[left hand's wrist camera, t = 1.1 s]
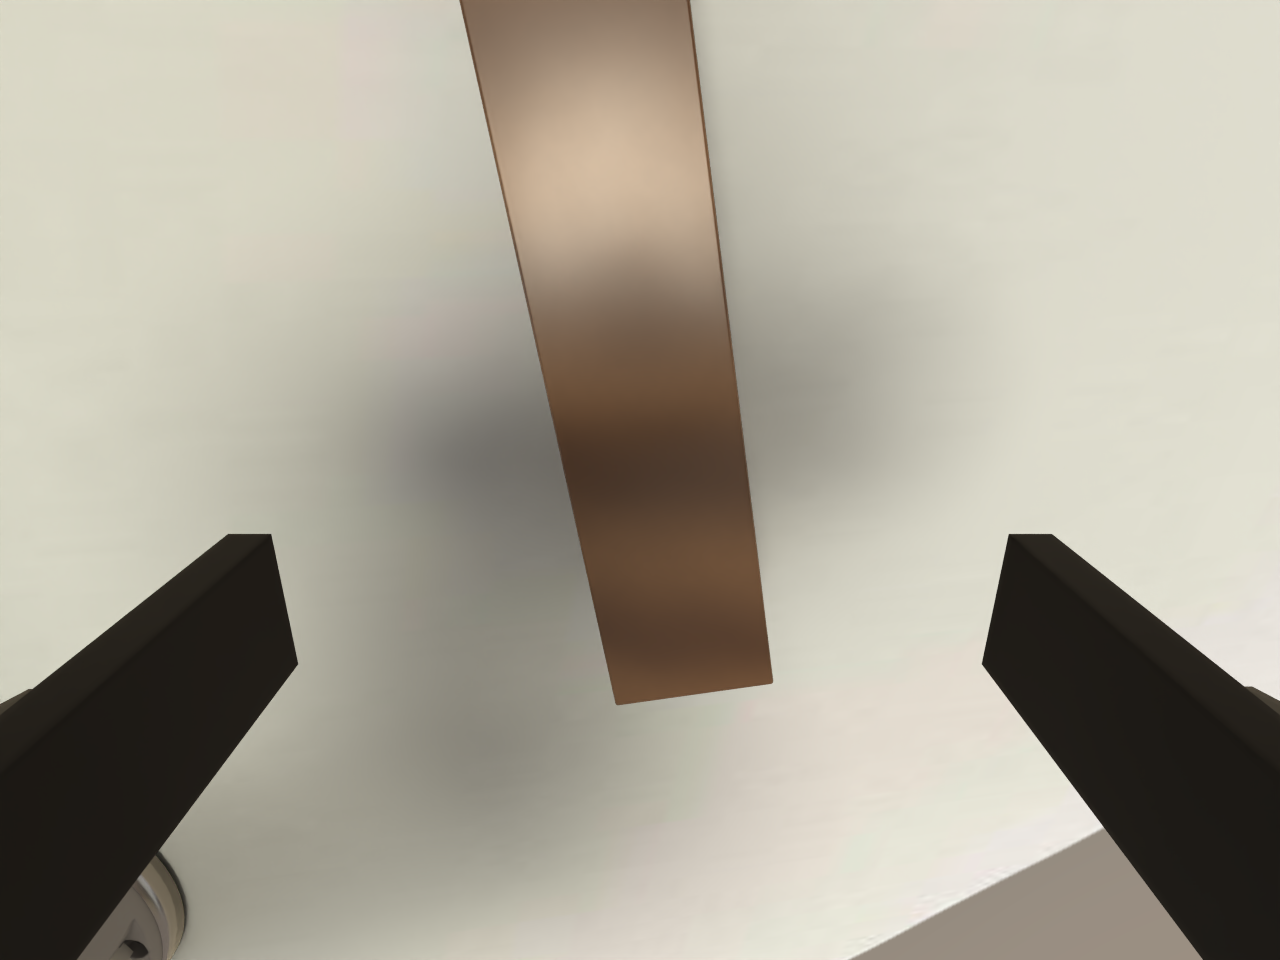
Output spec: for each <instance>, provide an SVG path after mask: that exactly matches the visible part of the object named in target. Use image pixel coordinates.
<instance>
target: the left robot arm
mask: <svg viewBox="0 0 1280 960" xmlns="http://www.w3.org/2000/svg"><path fill="white" fill-rule="evenodd" d="M297 665H298V661H297V656H296V651H295V647H294V642H293V637H292V632H291V627H290V622H289V618H288V613H287V608H286V603H285V598H284V594H283V589H282V584H281V579H280V574H279V570H278V565H277V560H276V555H275V550H274V546H273V541H272V536H271V534H228V535H226V536H225V537H224V538H223V539H221V540H220V541H219V542H217V543H216V544H215V545H214V546H212V547H211V548H210V549H209V550H207V551H206V552H205V553H204V554H202V555H201V556H200V557H199V558H197V559H196V560H195V561H194V562H192V563H191V564H190V565H188V566H187V567H186V568H185V569H183V570H182V571H181V572H180V573H178V574H177V575H176V576H175V577H173V578H172V579H171V580H170V581H168V582H167V583H166V584H165V585H163V586H162V587H161V588H159V589H158V590H157V591H156V592H154V593H153V594H152V595H151V596H149V597H148V598H147V599H146V600H144V601H143V602H142V603H141V604H139V605H138V606H137V607H136V608H134V609H133V610H132V611H130V612H129V613H128V614H127V615H125V616H124V617H123V618H122V619H120V620H119V621H118V622H117V623H115V624H114V625H113V626H112V627H110V628H109V629H108V630H107V631H105V632H104V633H103V634H101V635H100V636H99V637H98V638H96V639H95V640H94V641H93V642H91V643H90V644H89V645H88V646H86V647H85V648H84V649H83V650H81V651H80V652H79V653H78V654H76V655H75V656H74V657H72V658H71V659H70V660H69V661H67V662H66V663H65V664H64V665H62V666H61V667H60V668H59V669H57V670H56V671H55V672H54V673H52V674H51V675H50V676H49V677H47V678H46V679H45V680H44V681H42V682H41V683H40V684H38V685H37V686H36V687H35V688H33V689H28V690H26V691H24V692H22V693H20V694H19V695H17V696H15V697H13V698H11V699H9V700H7V701H5V702H3V703H1V704H0V960H170V959H171V957H172V956H173V954H174V953H175V951H176V949H177V947H178V945H179V943H180V941H181V938H182V935H183V930H184V908H183V903H182V899H181V896H180V893H179V891H178V888H177V886H176V884H175V882H174V880H173V878H172V876H171V875H170V873H169V872H168V870H167V869H166V867H165V866H164V865H163V863H162V862H161V861H160V860H159V859H158V857H157V856H156V853H157V852H158V851H159V849H160V848H161V847H162V845H163V844H164V843H165V841H166V840H167V839H168V837H169V836H170V835H171V833H172V832H173V831H174V829H175V828H176V827H177V825H178V824H179V823H180V821H181V820H182V819H183V817H184V816H185V815H186V813H187V812H188V811H189V809H190V808H191V807H192V805H193V804H194V803H195V801H196V800H197V799H198V797H199V796H200V795H201V793H202V792H203V791H204V789H205V788H206V787H207V785H208V784H209V783H210V781H211V780H212V779H213V777H214V776H215V775H216V773H217V772H218V771H219V769H220V768H221V767H222V765H223V764H224V763H225V761H226V760H227V759H228V757H229V756H230V755H231V753H232V752H233V750H234V749H235V748H236V746H237V745H238V744H239V742H240V741H241V740H242V738H243V737H244V736H245V734H246V733H247V732H248V730H249V729H250V728H251V726H252V725H253V724H254V722H255V721H256V720H257V718H258V717H259V716H260V714H261V713H262V712H263V710H264V709H265V708H266V706H267V705H268V704H269V702H270V701H271V700H272V698H273V697H274V696H275V694H276V693H277V692H278V690H279V689H280V688H281V686H282V685H283V684H284V682H285V681H286V680H287V678H288V677H289V676H290V674H291V673H292V672H293V670H294V669H295V668H296V666H297ZM982 665H983V666H984V668H985V669H986V670H987V672H988V673H989V674H990V676H991V677H992V678H993V680H994V681H995V682H996V684H997V685H998V686H999V688H1000V689H1001V690H1002V692H1003V693H1004V694H1005V696H1006V697H1007V698H1008V700H1009V701H1010V702H1011V704H1012V705H1013V706H1014V708H1015V709H1016V710H1017V712H1018V713H1019V714H1020V716H1021V717H1022V718H1023V720H1024V721H1025V722H1026V724H1027V725H1028V726H1029V728H1030V729H1031V730H1032V732H1033V733H1034V734H1035V736H1036V737H1037V738H1038V740H1039V741H1040V742H1041V744H1042V745H1043V746H1044V748H1045V749H1046V750H1047V752H1048V753H1049V755H1050V756H1051V757H1052V759H1053V760H1054V761H1055V763H1056V764H1057V765H1058V767H1059V768H1060V769H1061V771H1062V772H1063V773H1064V775H1065V776H1066V777H1067V779H1068V780H1069V781H1070V783H1071V784H1072V785H1073V787H1074V788H1075V789H1076V791H1077V792H1078V793H1079V795H1080V796H1081V797H1082V799H1083V800H1084V801H1085V803H1086V804H1087V805H1088V807H1089V808H1090V809H1091V811H1092V812H1093V813H1094V815H1095V816H1096V817H1097V819H1098V820H1099V821H1100V823H1101V824H1102V825H1103V827H1104V828H1105V829H1106V831H1107V832H1108V833H1109V835H1110V836H1111V837H1112V839H1113V840H1114V841H1115V843H1116V844H1117V845H1118V847H1119V848H1120V849H1121V851H1122V852H1123V853H1124V855H1125V856H1126V857H1127V859H1128V860H1129V861H1130V863H1131V864H1132V865H1133V867H1134V868H1135V869H1136V871H1137V872H1138V873H1139V875H1140V876H1141V877H1142V879H1143V880H1144V881H1145V883H1146V884H1147V885H1148V887H1149V888H1150V889H1151V891H1152V892H1153V893H1154V895H1155V896H1156V897H1157V899H1158V900H1159V901H1160V903H1161V904H1162V905H1163V907H1164V908H1165V909H1166V911H1167V912H1168V913H1169V915H1170V916H1171V917H1172V919H1173V920H1174V921H1175V923H1176V924H1177V926H1178V927H1179V928H1180V929H1181V931H1182V932H1183V933H1184V935H1185V936H1186V938H1187V939H1188V940H1189V942H1190V943H1191V944H1192V945H1193V947H1194V948H1195V950H1196V951H1197V952H1198V953H1199V955H1200V956H1201V958H1202V959H1203V960H1280V701H1279V700H1277V699H1275V698H1273V697H1271V696H1269V695H1267V694H1265V693H1263V692H1261V691H1260V690H1258V689H1256V688H1254V687H1244V686H1243V685H1242V684H1240V683H1239V682H1238V681H1237V680H1235V679H1234V678H1233V677H1231V676H1230V675H1229V674H1228V673H1226V672H1225V671H1224V670H1223V669H1221V668H1220V667H1219V666H1218V665H1216V664H1215V663H1214V662H1213V661H1211V660H1210V659H1209V658H1208V657H1206V656H1205V655H1204V654H1202V653H1201V652H1200V651H1199V650H1197V649H1196V648H1195V647H1194V646H1192V645H1191V644H1190V643H1189V642H1187V641H1186V640H1185V639H1184V638H1182V637H1181V636H1180V635H1179V634H1177V633H1176V632H1175V631H1173V630H1172V629H1171V628H1170V627H1168V626H1167V625H1166V624H1165V623H1163V622H1162V621H1161V620H1160V619H1158V618H1157V617H1156V616H1155V615H1153V614H1152V613H1151V612H1150V611H1148V610H1147V609H1146V608H1144V607H1143V606H1142V605H1141V604H1139V603H1138V602H1137V601H1136V600H1134V599H1133V598H1132V597H1131V596H1129V595H1128V594H1127V593H1126V592H1124V591H1123V590H1122V589H1121V588H1119V587H1118V586H1117V585H1115V584H1114V583H1113V582H1112V581H1110V580H1109V579H1108V578H1107V577H1105V576H1104V575H1103V574H1102V573H1100V572H1099V571H1098V570H1097V569H1095V568H1094V567H1093V566H1092V565H1090V564H1089V563H1088V562H1086V561H1085V560H1084V559H1083V558H1081V557H1080V556H1079V555H1078V554H1076V553H1075V552H1074V551H1073V550H1071V549H1070V548H1069V547H1068V546H1066V545H1065V544H1064V543H1063V542H1061V541H1060V540H1059V539H1057V538H1056V537H1055V536H1054V535H1052V534H1009V536H1008V541H1007V545H1006V550H1005V555H1004V560H1003V565H1002V570H1001V574H1000V579H999V584H998V589H997V594H996V598H995V603H994V608H993V613H992V618H991V622H990V627H989V632H988V637H987V642H986V647H985V651H984V656H983V661H982Z"/></svg>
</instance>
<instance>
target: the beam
mask: <svg viewBox="0 0 1280 960" xmlns="http://www.w3.org/2000/svg"><path fill="white" fill-rule="evenodd" d="M459 1H460V5H461V10H462V14H463V19H464V23H465V28H466V32H467V37H468V41H469V46H470V50H471V55H472V59H473V64H474V68H475V73H476V77H477V82H478V86H479V91H480V95H481V100H482V104H483V109H484V113H485V118H486V122H487V127H488V131H489V136H490V140H491V145H492V149H493V154H494V158H495V163H496V167H497V172H498V176H499V181H500V185H501V190H502V194H503V199H504V203H505V208H506V212H507V217H508V221H509V226H510V230H511V235H512V239H513V244H514V248H515V253H516V257H517V262H518V266H519V271H520V275H521V280H522V284H523V289H524V293H525V298H526V302H527V307H528V311H529V316H530V320H531V325H532V329H533V334H534V338H535V343H536V347H537V352H538V356H539V361H540V365H541V370H542V374H543V379H544V383H545V388H546V392H547V397H548V401H549V406H550V410H551V415H552V419H553V424H554V428H555V433H556V437H557V442H558V446H559V451H560V455H561V460H562V464H563V469H564V473H565V478H566V482H567V487H568V491H569V496H570V500H571V505H572V509H573V514H574V518H575V523H576V527H577V532H578V537H579V541H580V546H581V550H582V555H583V559H584V564H585V568H586V573H587V577H588V582H589V586H590V591H591V595H592V600H593V604H594V609H595V613H596V618H597V622H598V627H599V631H600V636H601V640H602V645H603V649H604V654H605V658H606V663H607V667H608V672H609V676H610V681H611V685H612V690H613V694H614V699H615V703H616V705H623V704H630V703H637V702H644V701H651V700H659V699H666V698H673V697H680V696H687V695H694V694H701V693H709V692H716V691H723V690H730V689H737V688H744V687H751V686H759V685H766V684H772V683H773V676H772V667H771V659H770V651H769V643H768V635H767V627H766V618H765V610H764V602H763V594H762V586H761V578H760V569H759V561H758V553H757V545H756V537H755V529H754V520H753V512H752V504H751V496H750V488H749V479H748V471H747V463H746V455H745V447H744V439H743V430H742V422H741V414H740V406H739V398H738V390H737V381H736V373H735V365H734V357H733V349H732V340H731V332H730V324H729V316H728V308H727V300H726V291H725V283H724V275H723V267H722V259H721V251H720V242H719V234H718V226H717V218H716V210H715V201H714V193H713V185H712V177H711V169H710V161H709V152H708V144H707V136H706V128H705V120H704V112H703V103H702V95H701V87H700V79H699V71H698V63H697V54H696V46H695V38H694V30H693V22H692V13H691V5H690V0H459Z"/></svg>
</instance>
